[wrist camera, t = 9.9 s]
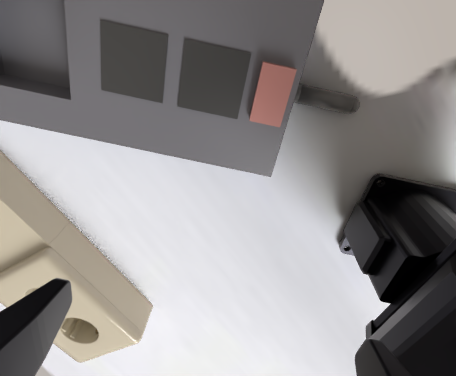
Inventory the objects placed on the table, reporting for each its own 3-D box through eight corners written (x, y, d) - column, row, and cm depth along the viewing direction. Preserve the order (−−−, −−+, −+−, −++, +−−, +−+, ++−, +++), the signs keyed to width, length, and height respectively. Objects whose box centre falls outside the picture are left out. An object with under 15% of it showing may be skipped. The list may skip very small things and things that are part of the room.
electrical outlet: (-54, 168, 17) (140, 345, 24) (-1, 143, 20) (155, 303, 27) (-117, 216, 19) (78, 366, 26) (-59, 186, 23) (99, 325, 29)
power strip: (391, 16, 15) (422, 14, 12) (328, 172, 19) (340, 196, 17) (-86, -93, 14) (-166, -122, 11) (-40, 94, 19) (-90, 106, 16)
